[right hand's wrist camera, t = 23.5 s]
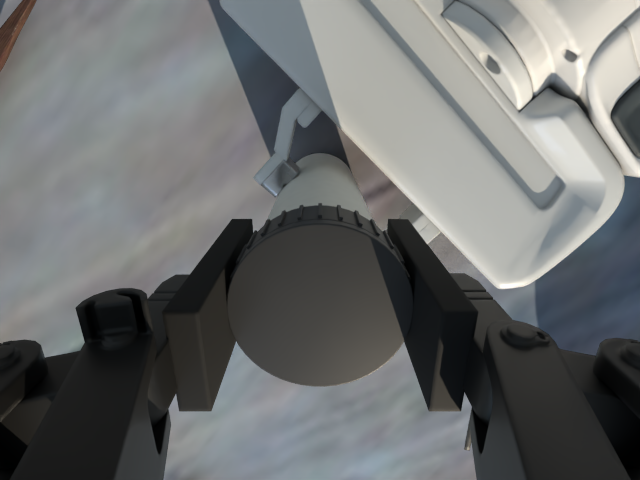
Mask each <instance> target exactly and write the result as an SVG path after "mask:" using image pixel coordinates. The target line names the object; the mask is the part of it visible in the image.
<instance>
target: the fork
mask: <svg viewBox="0 0 640 480" xmlns="http://www.w3.org/2000/svg"><path fill="white" fill-rule="evenodd" d="M35 3H36V0H23V1H22V2H21V3H20V4H19V5H18V7H17V8H16V9H15V11H14V12H13V13H12V14H11V16H10V17H9V18H8V19H7V21H6V22H5V23H4V24H3V25H2V27H1V28H0V71H1V70H2V68H3V66H4V65H5V63H6V61H7V59H8V57H9V54H10V52H11V50H12V48H13V46H14V44H15V41H16V39H17V37H18V35H19V33H20V31H21V29H22V27H23V25H24V24H25V22H26V20H27V18H28V16H29V14H30V12H31V10H32V8H33V7H34V5H35Z"/></svg>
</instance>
